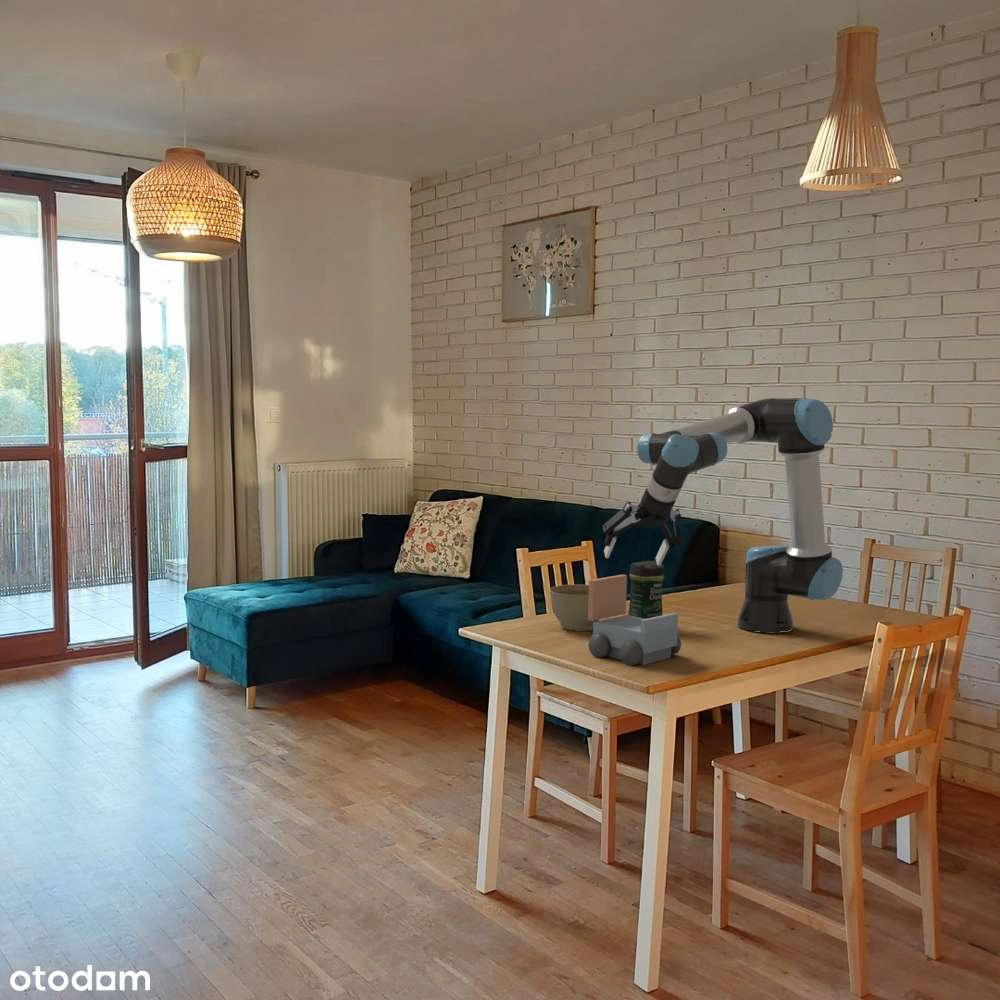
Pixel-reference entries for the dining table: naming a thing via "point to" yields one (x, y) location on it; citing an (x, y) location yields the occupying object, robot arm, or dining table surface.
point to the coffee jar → (646, 589)
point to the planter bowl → (571, 606)
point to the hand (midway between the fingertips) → (632, 558)
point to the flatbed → (636, 638)
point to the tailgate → (607, 597)
